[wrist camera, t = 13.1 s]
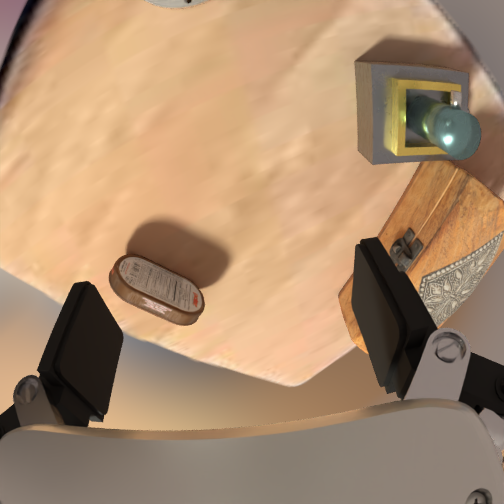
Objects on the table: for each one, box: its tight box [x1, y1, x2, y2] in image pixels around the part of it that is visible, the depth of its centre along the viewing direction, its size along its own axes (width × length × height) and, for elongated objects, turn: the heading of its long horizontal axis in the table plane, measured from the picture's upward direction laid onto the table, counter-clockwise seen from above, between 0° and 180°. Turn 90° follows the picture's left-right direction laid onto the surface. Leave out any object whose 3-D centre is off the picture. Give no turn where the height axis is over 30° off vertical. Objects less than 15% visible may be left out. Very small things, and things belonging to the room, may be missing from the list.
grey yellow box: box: [354, 61, 470, 165], centre depth 33 cm, size 12×16×6 cm
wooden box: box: [338, 160, 504, 355], centre depth 43 cm, size 30×16×14 cm, turn 158°
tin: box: [109, 254, 205, 326], centre depth 45 cm, size 15×3×8 cm, turn 55°
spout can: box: [407, 90, 481, 160], centre depth 27 cm, size 7×5×8 cm
